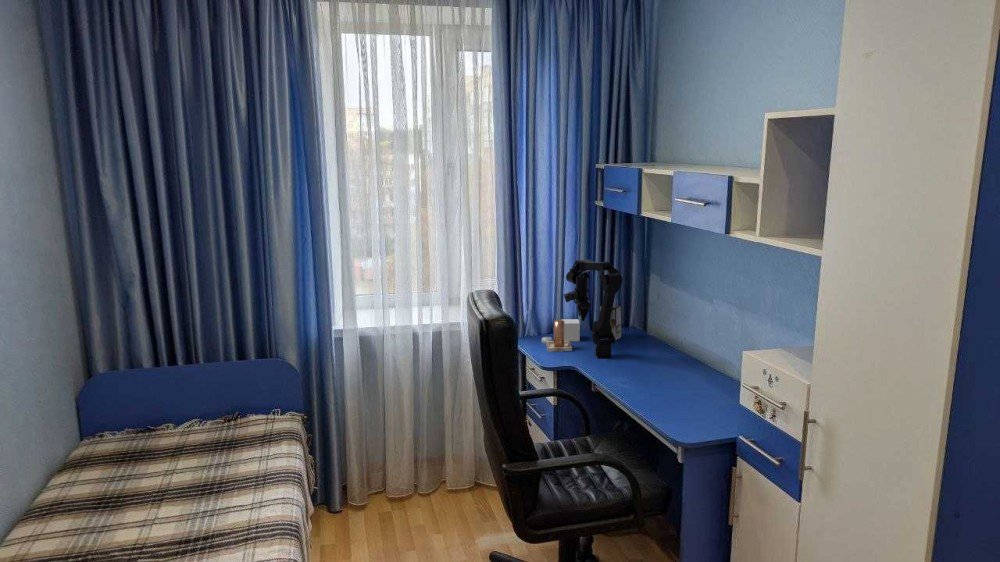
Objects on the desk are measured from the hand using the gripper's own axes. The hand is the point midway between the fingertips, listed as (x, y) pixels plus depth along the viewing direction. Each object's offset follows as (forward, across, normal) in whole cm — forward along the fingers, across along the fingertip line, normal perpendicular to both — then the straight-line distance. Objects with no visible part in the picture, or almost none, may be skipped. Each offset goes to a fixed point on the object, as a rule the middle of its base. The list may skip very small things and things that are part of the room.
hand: (581, 318), depth 320 cm
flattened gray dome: (+13, -4, -16) cm, 21 cm away
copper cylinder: (+12, +5, -11) cm, 17 cm away
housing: (+13, -10, -4) cm, 17 cm away
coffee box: (+13, -12, +16) cm, 24 cm away
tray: (+13, +5, -11) cm, 18 cm away
